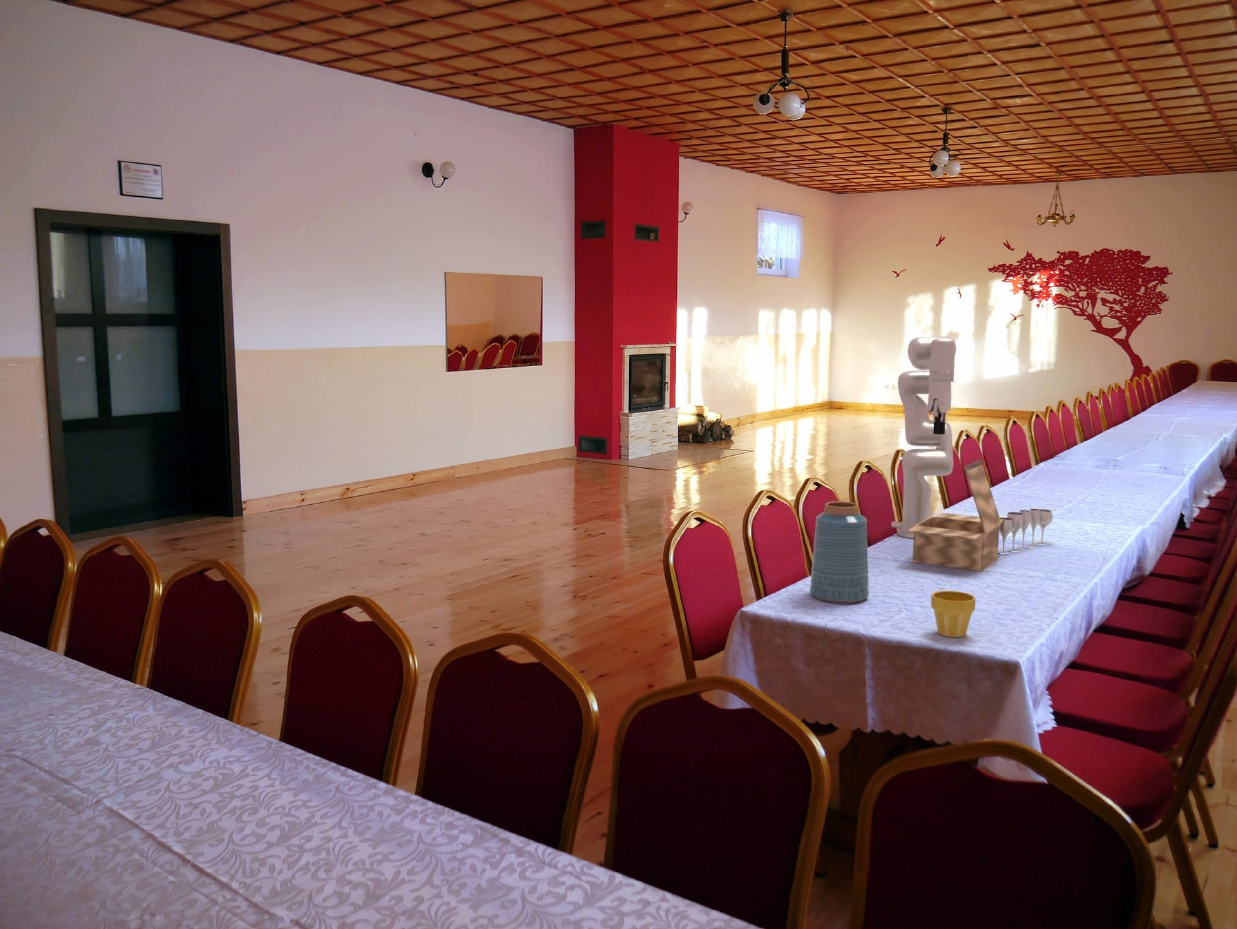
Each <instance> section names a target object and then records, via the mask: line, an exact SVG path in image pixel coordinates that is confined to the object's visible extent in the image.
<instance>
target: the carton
mask: <svg viewBox="0 0 1237 929" xmlns="http://www.w3.org/2000/svg"><path fill="white" fill-rule="evenodd" d="M1000 521H1001V523H1002V522H1003V521H1004V519H1000ZM999 526H1000V525H998V526H997V527H995V528H994V529H992V530H991V531H989V532H988V533H986V534H985V533H984V529H983V526H982V523H981V520H980V517H979V516H974V515H967V514H957V513H948V512H947V513H946V512H939V513H938V514H935V515H934V516H933V515H932V516H931V515H930V517H929V518H928V519H926V520H924V521H922V522H920V523H918V524H916V525H914V527H913V528H911V529H909V530H908V532H911V533H914V538H913V544H912V562H913V563H918V564H926V565H934V566H939V567H946V566H947V567H949V568H953V567H956V568H955V569H961V568H962V569H963V570H968V569H971V570H970V571H977V572H982V571H983V572H984V571H986V570H987V569H988V568H989V567H990V566H992V565H994V563H996V562H997V561H998V560H999V554H998V552H999V544H1000V543H999V541H1000V533H999ZM996 560H997V561H996ZM995 561H996V562H995ZM991 564H992V565H991ZM987 567H988V568H987ZM986 568H987V569H986ZM962 569H961V570H962Z"/></svg>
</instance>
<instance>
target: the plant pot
mask: <svg viewBox="0 0 1237 929" xmlns="http://www.w3.org/2000/svg"><path fill="white" fill-rule="evenodd" d="M930 597H931V598H930V599H931V602H930V604H931V605H930V606H931V608H932V609H933V613H934V618H935V623H936V628H937V632H938V634H939V635H941V636H944V637H948V638H964V637H966V635H967V631H968V628H969V624H970V622H971V621H970V620H971V617H972V613H974V612H975V610H976V601H977V600H976V597H975V596H974V595H973V594H971V593H968V592H964V591H958V590H939V591H937V590H936V591H934V592H932V594H931V596H930Z"/></svg>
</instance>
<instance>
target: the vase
mask: <svg viewBox="0 0 1237 929" xmlns="http://www.w3.org/2000/svg"><path fill="white" fill-rule="evenodd" d="M859 512H860V510H859V504H857V503H856V502H851V501H842V500H841V501H829V502H826V503H825V505H824V511H823V512H821V513H820V514H818V515H817V516H816V518H815V530H814V531H815V532H814V539H813V540H814V541H813V553H812V555H813V556H812V563H811V566H812V567H811V574H810V578H811V579H810V587H809V592H810V594H811V595H812V596H813V598H815V599H816V600H817V599H818V601H821V602H825V603H826V602H827V603H830V604H831V603H832V604H840V605H841V604H842V605H843V604H844V605H845V604H846V605H847V604H856V603H859V602H862V601H864V600H866V599H867V598H868V597H869V596H870V595H869V594H870V589H869V587H870V586H869V584H870V583H869V577H870V576H869V562H868V561H869V560H868V558H869V557H868V527H867V526H868V524H867V523H868V519H867V517H865V516H863V515H862V514H861V513H859Z"/></svg>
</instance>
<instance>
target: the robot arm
mask: <svg viewBox="0 0 1237 929" xmlns="http://www.w3.org/2000/svg"><path fill="white" fill-rule="evenodd" d="M956 354H957V344H956V341H955V339H954V338H951V337H949V336H948V337H947V336H945V337H942V336H941V337H940V336H939V337H938V336H936V337H935V336H933V337H931V336H928V337H927V336H925V337H924V336H923V337H922V336H921V337H914V338H913V339H911V340H910V341H909V344H908V347H907V356H908V360H909V361H910V363H911V365H912V366H913V368H915V369H916V370H908V371H903V372H901V374H900V375H899V376H898V378H897V390H898V395H899V398H900V401H901V404H902V406H903V409H904V431H905V432H904V433H905V435H904V436H905V442H906V443H907V445H910V446H912V447H936V448H937V449H936V448H933V449H932V448H912V449H908V450H906V451H905V452H904V453H902V454H903V455H902V456H901V457H902V459H901V464H902V466H901V467H902V471H903V472H902V474H903V494H902V495H903V498H902V499H903V501H902V521H900V522H898V521H891V523H890V524H891V527H892V528H894V529H898V530H897V535H898V536H900V537H903V538H907V539H908V538H909V539H914V533H911V532H908V530H909V529H911V528H913V527H914V525H916V524H918V523H920V522H922V521H924V520H926V519H928V518H929V517H931V504H932V502H931V501H932V488H931V484H930V483H929V482H928V481H927V480H926V478H925V477H928V476H929V477H931V476H932V477H933V476H934V477H935V476H937V477H939V476H940V477H943V476H949V475H950V474H952V472H953V469H954V451H953V450H954V449H953V433H952V427H951V424H950V423H949V422H948V421H946V420H947V414H948V412H950V410H951V408H952V383H954V382H955V381H954V379H955V364H956V361H955V359H956V357H955V356H956ZM919 395H928V397H927V398H928V399H927V403H926V401H925V400H924V399H923V398H922V397H921V396H919ZM930 413H932V417H933V419H930Z"/></svg>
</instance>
